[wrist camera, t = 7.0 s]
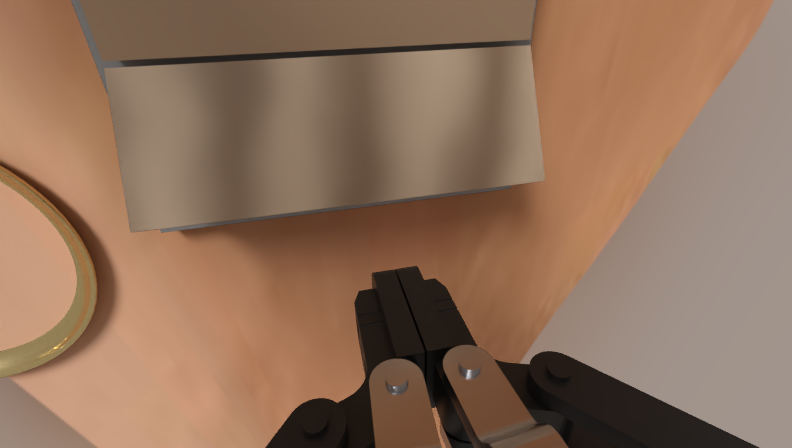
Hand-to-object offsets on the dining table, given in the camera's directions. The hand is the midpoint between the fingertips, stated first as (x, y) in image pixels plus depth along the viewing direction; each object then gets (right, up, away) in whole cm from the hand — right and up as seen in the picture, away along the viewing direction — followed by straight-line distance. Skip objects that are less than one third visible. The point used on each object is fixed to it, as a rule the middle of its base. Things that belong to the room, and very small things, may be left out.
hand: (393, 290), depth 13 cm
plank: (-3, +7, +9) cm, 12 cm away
